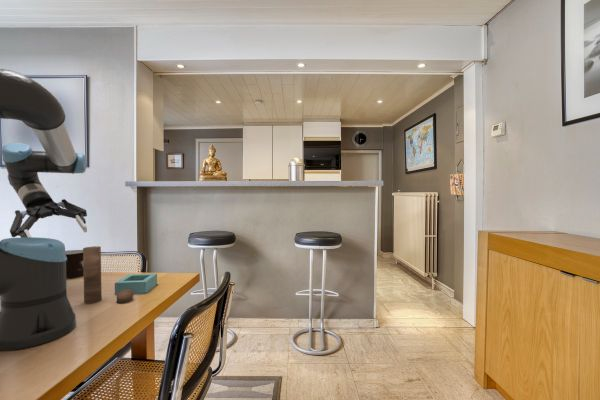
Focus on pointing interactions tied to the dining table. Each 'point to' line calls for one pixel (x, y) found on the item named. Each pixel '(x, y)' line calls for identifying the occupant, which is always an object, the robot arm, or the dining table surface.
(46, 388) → the dining table surface
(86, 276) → the long pin
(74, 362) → the dining table surface
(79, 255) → the coffee mug
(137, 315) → the dining table surface
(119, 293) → the brown rounded block
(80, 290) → the dining table surface
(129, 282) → the hole block
